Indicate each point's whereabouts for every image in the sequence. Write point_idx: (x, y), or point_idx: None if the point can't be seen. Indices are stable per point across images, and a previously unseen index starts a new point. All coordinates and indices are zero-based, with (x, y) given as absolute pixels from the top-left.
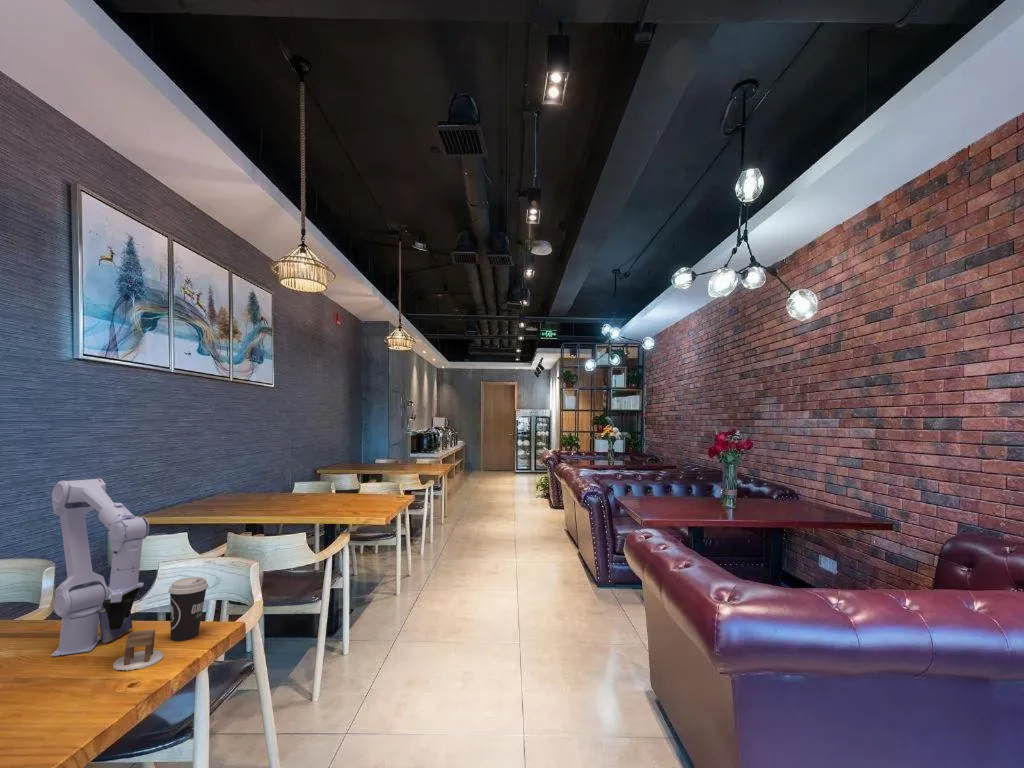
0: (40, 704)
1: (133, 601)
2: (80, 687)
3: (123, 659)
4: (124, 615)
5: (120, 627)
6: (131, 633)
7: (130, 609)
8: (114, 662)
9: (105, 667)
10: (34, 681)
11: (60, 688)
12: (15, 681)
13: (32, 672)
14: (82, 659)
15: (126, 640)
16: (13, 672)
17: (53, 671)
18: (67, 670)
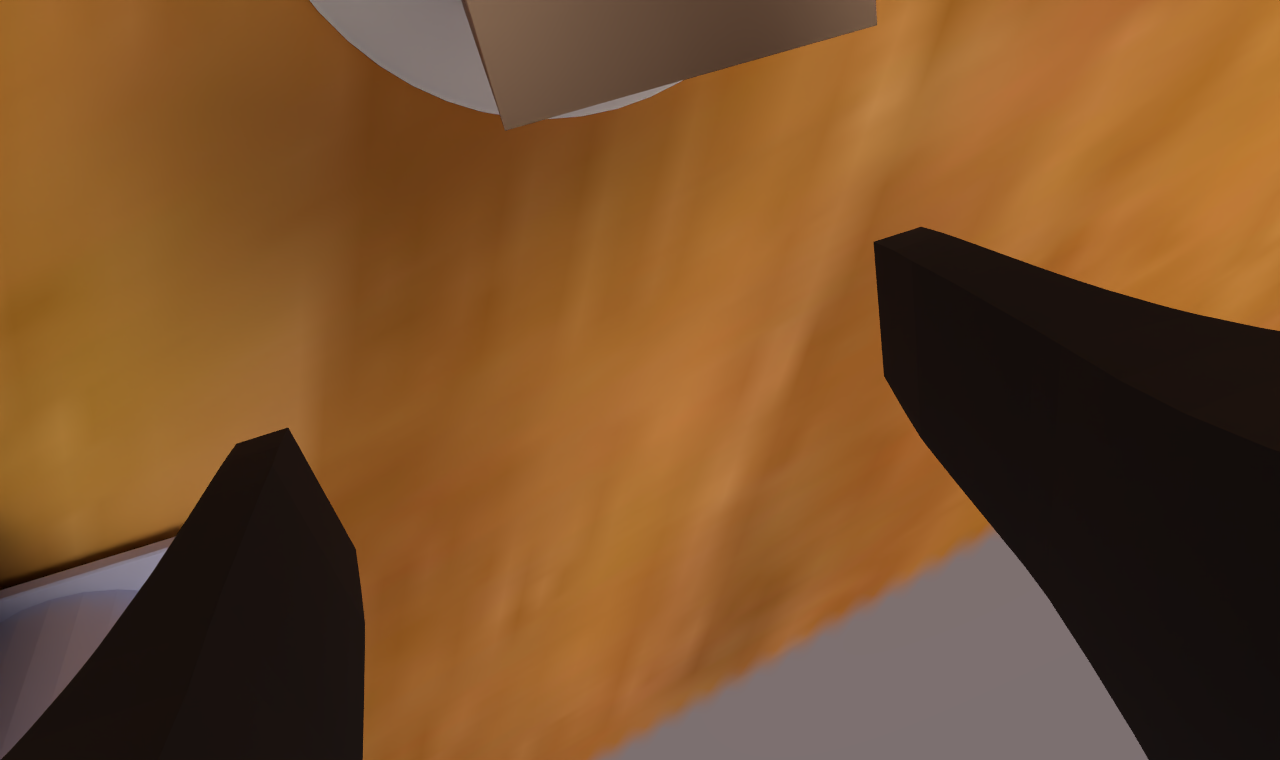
0: (1226, 268)
1: (138, 666)
2: (1052, 140)
3: None
4: (1138, 303)
5: (942, 235)
6: (579, 90)
7: (256, 521)
8: (611, 104)
9: (645, 159)
10: (790, 543)
11: None
12: (750, 645)
13: (618, 650)
14: (401, 483)
15: (868, 18)
16: (590, 745)
17: (633, 538)
18: (637, 454)
